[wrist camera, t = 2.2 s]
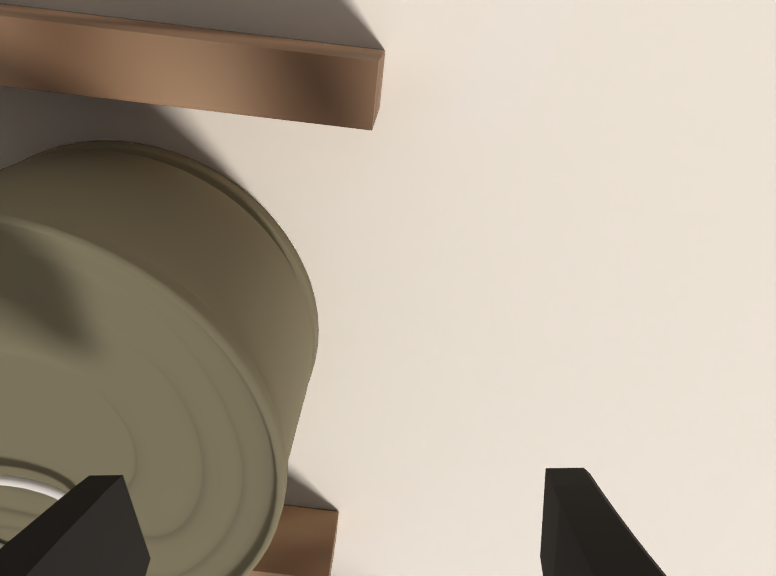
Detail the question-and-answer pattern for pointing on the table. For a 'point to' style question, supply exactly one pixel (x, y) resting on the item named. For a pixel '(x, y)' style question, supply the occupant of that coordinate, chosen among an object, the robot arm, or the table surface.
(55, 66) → the bay
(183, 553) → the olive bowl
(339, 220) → the table surface
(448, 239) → the table surface
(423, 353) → the table surface
